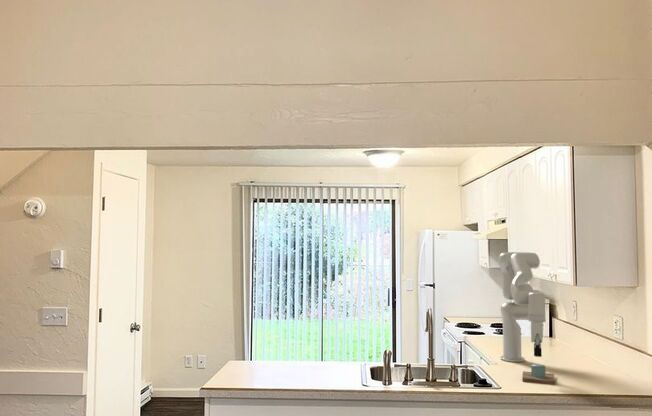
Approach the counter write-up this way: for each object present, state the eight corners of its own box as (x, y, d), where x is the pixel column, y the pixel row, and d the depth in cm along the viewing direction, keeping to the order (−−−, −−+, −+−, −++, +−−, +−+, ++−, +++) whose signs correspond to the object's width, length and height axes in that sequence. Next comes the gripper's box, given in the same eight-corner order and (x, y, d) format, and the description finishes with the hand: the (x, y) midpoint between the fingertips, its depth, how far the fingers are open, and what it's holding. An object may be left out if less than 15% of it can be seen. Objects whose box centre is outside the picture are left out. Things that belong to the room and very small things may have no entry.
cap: (531, 374, 246) (531, 363, 246) (545, 375, 244) (544, 364, 244) (531, 376, 240) (531, 366, 241) (545, 378, 238) (545, 367, 238)
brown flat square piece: (522, 374, 251) (522, 371, 251) (554, 377, 246) (553, 374, 246) (522, 381, 238) (522, 378, 238) (555, 384, 233) (555, 381, 233)
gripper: (528, 315, 253) (529, 349, 252) (528, 320, 237) (529, 357, 236) (545, 316, 250) (545, 351, 249) (545, 321, 234) (546, 359, 233)
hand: (537, 354), depth 243 cm, fingers open, 9 cm apart
